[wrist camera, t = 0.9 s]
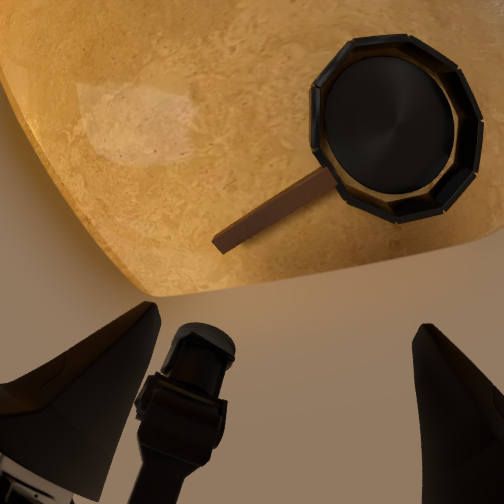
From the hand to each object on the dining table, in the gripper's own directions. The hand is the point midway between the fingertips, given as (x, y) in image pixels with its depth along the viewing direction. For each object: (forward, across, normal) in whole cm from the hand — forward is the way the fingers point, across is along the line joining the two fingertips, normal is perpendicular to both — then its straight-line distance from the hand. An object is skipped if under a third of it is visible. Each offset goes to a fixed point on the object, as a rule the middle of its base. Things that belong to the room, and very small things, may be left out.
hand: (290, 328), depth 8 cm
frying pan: (+15, -3, -3) cm, 16 cm away
